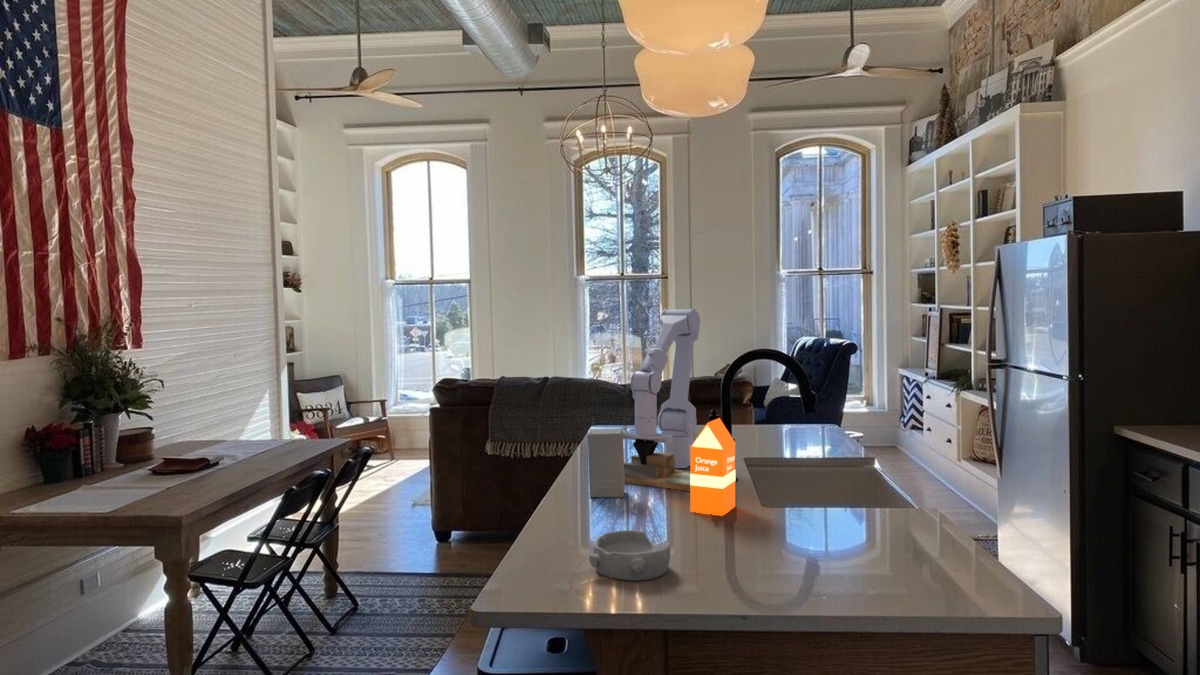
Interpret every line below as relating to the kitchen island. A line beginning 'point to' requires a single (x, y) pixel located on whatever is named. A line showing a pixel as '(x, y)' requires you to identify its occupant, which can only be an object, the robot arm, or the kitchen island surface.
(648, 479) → the chute board
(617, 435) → the skincare box
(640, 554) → the dish
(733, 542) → the kitchen island surface
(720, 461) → the orange juice
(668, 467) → the walnut block
